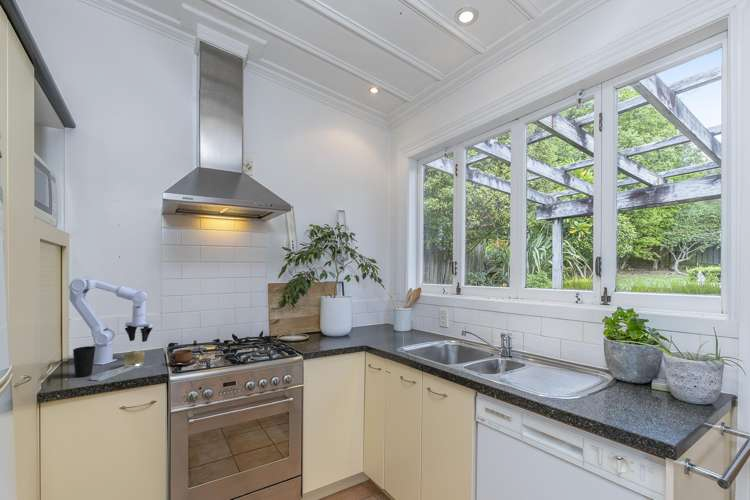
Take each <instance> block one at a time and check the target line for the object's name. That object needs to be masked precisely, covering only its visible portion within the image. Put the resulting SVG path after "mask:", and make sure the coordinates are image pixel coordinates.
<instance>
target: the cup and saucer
mask: <svg viewBox="0 0 750 500" xmlns="http://www.w3.org/2000/svg"><path fill="white" fill-rule="evenodd" d="M171 357H174V358H171ZM192 358H193V359H194V360H195V361H192V362H190V361H191V360H192ZM168 359H169V364H170V365H171V366H175V365H183V366H188V364H189V365H192V364H194V363H195V362H197V360H198V358H197V357H196V356H195V357H194V356H193V350H192V349H181V350H176V351H175V353H174V354H170V355H169V356H168ZM174 360H175V362H176V363H182V364H173V361H174Z"/></svg>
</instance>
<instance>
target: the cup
mask: <svg viewBox="0 0 750 500" xmlns="http://www.w3.org/2000/svg"><path fill="white" fill-rule="evenodd" d="M95 348H96V347H94V346H92V345H88V346H80V347H76V348H74V349H72V353H73V354H72V355H73V364H74V366H73V368H74V377H75V378H78V379H80V378H85V377H86V378H87V377H91V376H92V374H93V367H94V364H93V362H94V355H95Z"/></svg>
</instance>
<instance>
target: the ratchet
mask: <svg viewBox="0 0 750 500" xmlns="http://www.w3.org/2000/svg"><path fill="white" fill-rule="evenodd" d="M143 366H144V362H142V363H139V364H136V365H126V364H124V365H122V366H121V367H116V368H114V369H112V370H106V371H103V372H99V373H97V374H94V375H90V381H94V380H97V381H96V382H101V381H104V380H107V379H109V378H112V377H115V376H117V375H120V374H123V373H125V372H130V371H131V370H137V369H140V368H143Z"/></svg>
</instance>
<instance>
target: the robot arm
mask: <svg viewBox="0 0 750 500" xmlns="http://www.w3.org/2000/svg"><path fill="white" fill-rule="evenodd" d="M68 289H69V294H68V295H69V301H70V303H71V304H72V306H73V307H74V309H76V311H77V313H78V315H80V317H81V318H82V319H83V321H84V322H85V323H86V325H87V326H88V327H89V329H90V331H91V332H90V333H91V336H92V338H93V344H92V345H91V346H94V347H96V348H95V355H94V362H93V365H101V366H102V365H106V364H109V363H113V362H115V361H118V359H117V358H113V357H114V356H113V355H114V342H113V340H114V338H115V335H116V333H115V332H114V331H113V330H112V329H110V328H109V327H108V326H107V325H106V324H104V323H103V322H102V320H101V319H100V317H99V316H98V315H97V313H96V312H95V310H94V309H93V308H92V306H91V305H90V304H89V302H88V301H87V300H86V295H87V293H88V292H89V290H92V289H99V290H103V291H105V292H106V291H107V292H111V293H113V294H115V295H116V297H118V298H122V299H125V300H129V301H132V302H133V303H132V318H131V319H132V321H130V322H129V321H128V322H125V324H124V325H125V327H124V330H125V332H126V333H127V335H128V339H129V341H130V342H133V341H135V339H136V332H137V328H139V331H140V333H141V341H142V342H143V343H144V342H145V343H146V342H147V341H148V338H149V335H150V333H151V331H152V330H153V323H150V322H147V321H146V319H147V299H148V293H147V292H146V291H144V290H139V289H138V288H137V289H136V288H134V289H133V288H132V287H129V286H128V285H121V286H116V285H114V284H110V283H108V282H105V281H102V280H99V279H96V278H91V277H87V276H84V277H78V278H74V279H73V280H72V281H71V282H70V284H69V286H68Z"/></svg>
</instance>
